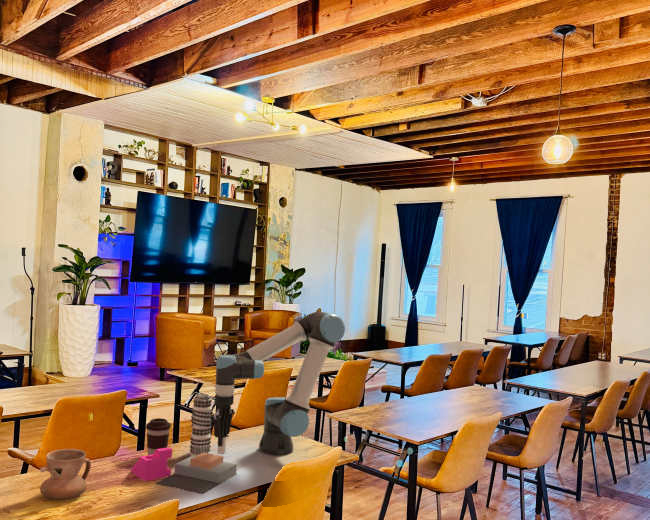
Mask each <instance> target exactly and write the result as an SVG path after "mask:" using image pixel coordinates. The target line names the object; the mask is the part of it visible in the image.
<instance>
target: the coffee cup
mask: <svg viewBox="0 0 650 520" xmlns="http://www.w3.org/2000/svg"><path fill="white" fill-rule="evenodd" d="M171 428H172V423H170V422H169V421H168V419H166V418H160V417H159V418H152V419H150V421H149V422H147V423H146V424H145V429H146V430H147V431H146V447H147V455H153V454H154V452H155V451H156V449H162V448H167V447H169V445H168V444H169V438H170V437H169V436H170V429H171Z"/></svg>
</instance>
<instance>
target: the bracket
mask: <svg viewBox="0 0 650 520" xmlns="http://www.w3.org/2000/svg"><path fill="white" fill-rule="evenodd" d="M172 457H173V448H172V447H169V446H167V448H162V449H156V451H155V452H154V454H153V455H148V454H147V455H143V456H140V457H138V459H137V461H136V462H135V464H134V465H133V467H132V468H131V470H130V473H131V474H133V473H134V474H133V475H135V476H136V475H137V476H136V477H138V478H139V479H141V480H142V481H144V482H147V481H148V480H149V481H152V480H153V481H154V480H156V479H163V478H166V476H171V475H172V469H171V468H169V467H168V461H169V460H170V459H172ZM162 477H163V478H162Z"/></svg>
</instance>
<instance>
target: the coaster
mask: <svg viewBox="0 0 650 520" xmlns="http://www.w3.org/2000/svg"><path fill="white" fill-rule="evenodd" d="M223 462H224V455H220V454H213V453H210V454H209V453H202V454H200V455H198V456H195V457H193V458H191V459H190V465H192V466H197V467H202V468H207V469H212V468H214V467H216V466H217V465H219V464H221V463H223Z"/></svg>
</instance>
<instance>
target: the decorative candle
mask: <svg viewBox="0 0 650 520" xmlns="http://www.w3.org/2000/svg"><path fill="white" fill-rule="evenodd" d="M212 401H213V398H212V396H211V395H210V394H209V393H198V394H196V395H195V397H193V406H192V407H191V412H190V413H191V414H192V415H191V416H190V421H191V429H192V431H191V436H190V442H189V443H190V445H189V448H190V449H189V455H190V457H191V456H198V455H200V454H202V453H209V454H211V448H212V447H211V446H212V445H210V444H212V443H211V440H212V437H211V428H212V426H213V424H212V423H213V418H212V415H213V414H214V412H213V411H212V410H213V405H212V403H213V402H212Z"/></svg>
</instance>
